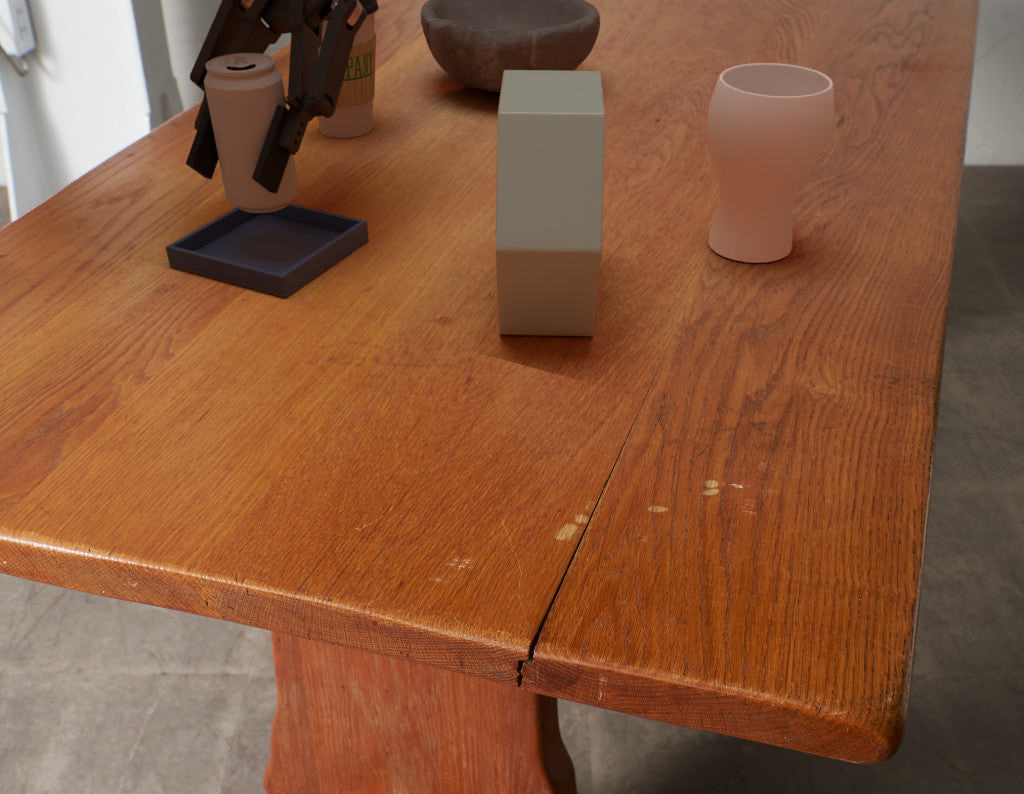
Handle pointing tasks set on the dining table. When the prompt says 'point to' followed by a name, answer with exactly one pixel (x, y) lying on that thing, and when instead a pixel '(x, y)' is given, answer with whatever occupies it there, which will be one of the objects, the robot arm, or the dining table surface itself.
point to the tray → (268, 247)
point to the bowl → (508, 37)
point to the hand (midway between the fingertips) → (231, 178)
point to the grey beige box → (549, 201)
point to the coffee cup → (355, 83)
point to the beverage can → (246, 127)
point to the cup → (764, 153)
